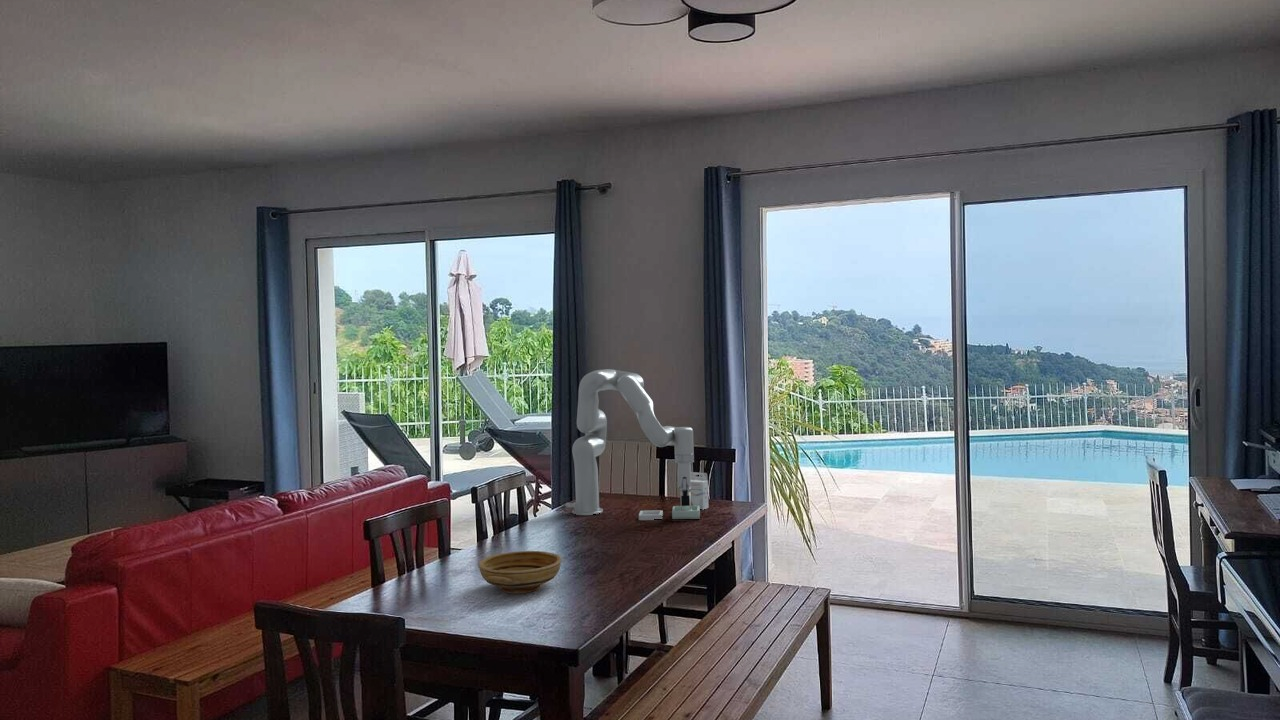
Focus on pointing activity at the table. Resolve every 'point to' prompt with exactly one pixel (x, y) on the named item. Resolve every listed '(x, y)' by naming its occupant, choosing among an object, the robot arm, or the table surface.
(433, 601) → the table surface
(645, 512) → the white square dish
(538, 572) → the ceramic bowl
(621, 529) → the table surface
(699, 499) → the ink cartridge box
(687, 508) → the fuse
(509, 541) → the table surface
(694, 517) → the tray
